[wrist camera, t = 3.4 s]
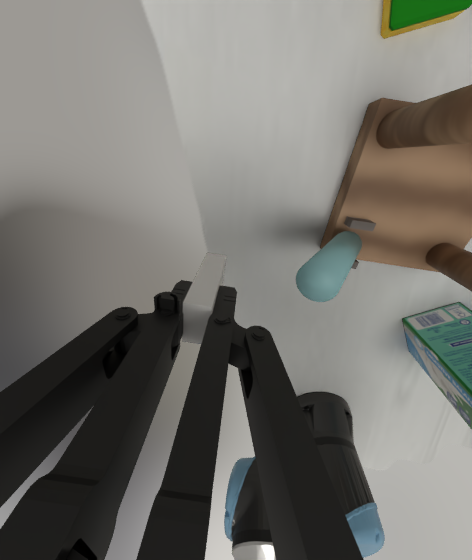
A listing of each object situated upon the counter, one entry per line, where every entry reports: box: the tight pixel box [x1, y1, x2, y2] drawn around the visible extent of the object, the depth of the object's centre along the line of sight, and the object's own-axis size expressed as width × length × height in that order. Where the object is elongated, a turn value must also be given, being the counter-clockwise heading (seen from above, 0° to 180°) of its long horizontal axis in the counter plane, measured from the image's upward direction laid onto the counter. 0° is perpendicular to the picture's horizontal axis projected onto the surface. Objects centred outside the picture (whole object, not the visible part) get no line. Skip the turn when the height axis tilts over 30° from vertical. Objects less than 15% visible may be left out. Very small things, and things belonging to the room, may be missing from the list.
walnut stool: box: [320, 85, 472, 291], centre depth 22 cm, size 19×18×19 cm
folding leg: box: [296, 231, 362, 302], centre depth 24 cm, size 4×4×14 cm
